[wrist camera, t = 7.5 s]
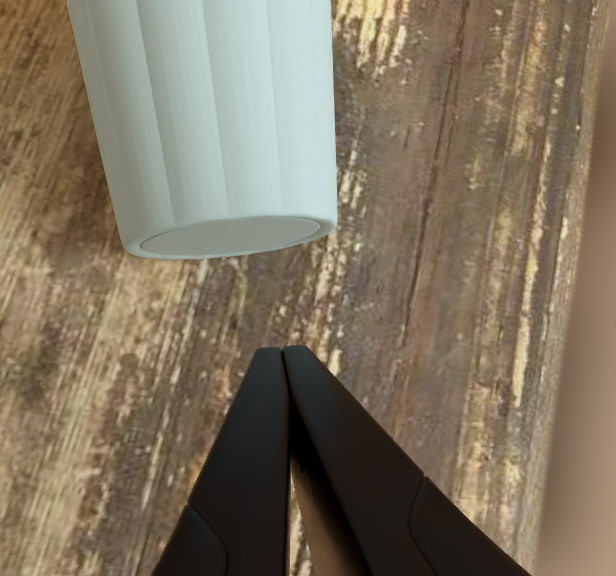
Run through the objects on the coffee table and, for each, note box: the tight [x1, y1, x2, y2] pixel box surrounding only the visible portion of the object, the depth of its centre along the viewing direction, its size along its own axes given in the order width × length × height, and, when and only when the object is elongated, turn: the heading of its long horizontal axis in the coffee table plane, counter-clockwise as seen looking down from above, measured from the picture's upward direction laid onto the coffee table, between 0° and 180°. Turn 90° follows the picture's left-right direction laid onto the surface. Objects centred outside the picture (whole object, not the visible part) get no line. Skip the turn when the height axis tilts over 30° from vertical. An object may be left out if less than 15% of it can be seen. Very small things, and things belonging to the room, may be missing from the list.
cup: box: [66, 0, 337, 260], centre depth 14 cm, size 8×8×10 cm
